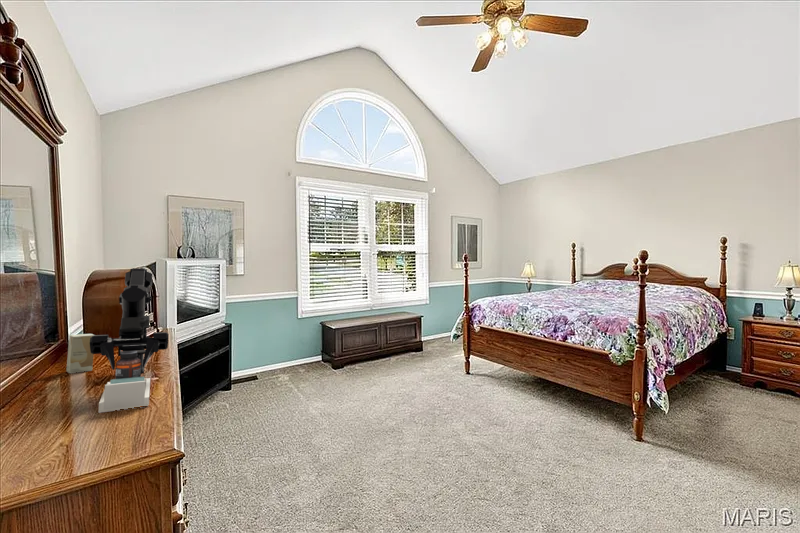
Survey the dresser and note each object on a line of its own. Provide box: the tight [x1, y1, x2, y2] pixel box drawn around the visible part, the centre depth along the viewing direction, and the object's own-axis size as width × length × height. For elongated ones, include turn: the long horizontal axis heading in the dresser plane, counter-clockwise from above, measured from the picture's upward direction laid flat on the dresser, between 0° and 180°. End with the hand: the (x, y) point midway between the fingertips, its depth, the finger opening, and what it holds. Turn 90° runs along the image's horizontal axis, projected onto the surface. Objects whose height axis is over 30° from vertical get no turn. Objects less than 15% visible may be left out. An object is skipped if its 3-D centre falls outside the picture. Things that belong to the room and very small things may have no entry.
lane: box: [98, 377, 151, 414], centre depth 105 cm, size 20×10×7 cm, turn 32°
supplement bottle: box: [114, 351, 142, 379], centre depth 109 cm, size 6×6×11 cm
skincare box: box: [65, 333, 95, 374], centre depth 129 cm, size 6×4×12 cm
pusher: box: [109, 376, 145, 384], centre depth 105 cm, size 3×8×4 cm, turn 123°
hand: (128, 367), depth 107 cm, fingers open, 7 cm apart
